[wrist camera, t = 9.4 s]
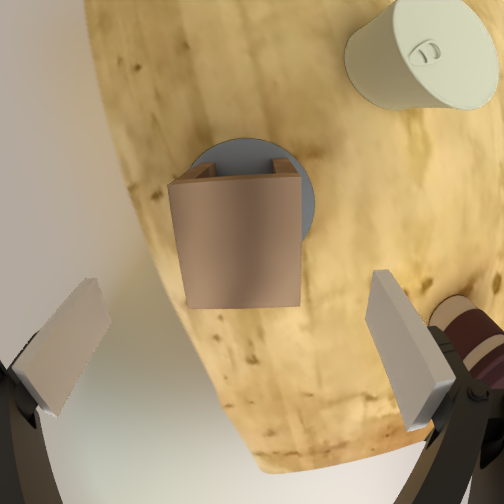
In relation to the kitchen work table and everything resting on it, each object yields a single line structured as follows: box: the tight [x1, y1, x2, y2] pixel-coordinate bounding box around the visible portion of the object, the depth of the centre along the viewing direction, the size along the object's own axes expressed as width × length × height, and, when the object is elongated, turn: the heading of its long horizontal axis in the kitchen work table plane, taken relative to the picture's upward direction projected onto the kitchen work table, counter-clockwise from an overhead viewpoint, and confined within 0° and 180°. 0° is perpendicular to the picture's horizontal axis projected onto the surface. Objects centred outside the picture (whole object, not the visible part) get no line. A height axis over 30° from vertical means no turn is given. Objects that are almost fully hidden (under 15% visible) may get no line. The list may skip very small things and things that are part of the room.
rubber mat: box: [189, 138, 315, 241], centre depth 28 cm, size 13×13×1 cm
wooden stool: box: [167, 158, 302, 309], centre depth 23 cm, size 8×9×10 cm
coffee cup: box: [429, 295, 504, 389], centre depth 27 cm, size 10×10×15 cm
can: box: [344, 0, 499, 110], centre depth 16 cm, size 9×9×12 cm
